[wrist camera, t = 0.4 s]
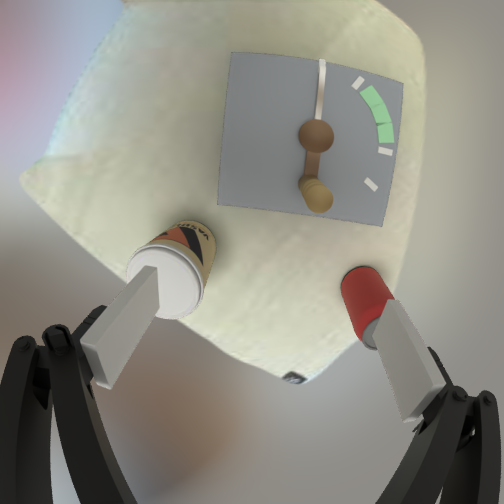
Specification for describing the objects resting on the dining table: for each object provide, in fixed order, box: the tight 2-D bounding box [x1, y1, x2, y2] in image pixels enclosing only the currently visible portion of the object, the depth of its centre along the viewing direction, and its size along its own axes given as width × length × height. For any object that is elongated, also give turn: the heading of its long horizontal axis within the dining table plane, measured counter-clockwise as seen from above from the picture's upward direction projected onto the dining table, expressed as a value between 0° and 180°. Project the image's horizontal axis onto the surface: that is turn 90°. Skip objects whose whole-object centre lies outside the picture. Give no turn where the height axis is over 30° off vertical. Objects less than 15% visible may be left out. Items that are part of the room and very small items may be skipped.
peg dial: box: [298, 66, 334, 213], centre depth 25 cm, size 16×4×9 cm, turn 174°
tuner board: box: [217, 52, 403, 227], centre depth 30 cm, size 20×22×2 cm
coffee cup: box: [126, 221, 216, 319], centre depth 34 cm, size 9×9×12 cm
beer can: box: [341, 267, 395, 350], centre depth 34 cm, size 7×7×12 cm
